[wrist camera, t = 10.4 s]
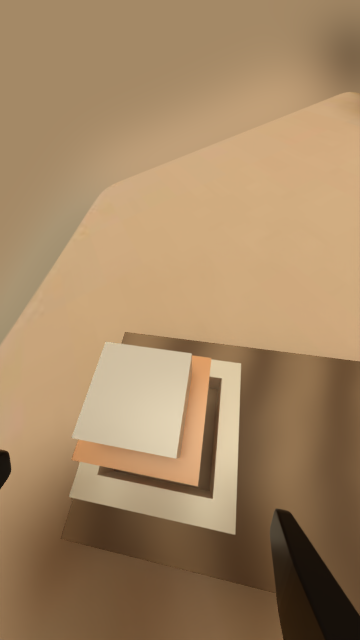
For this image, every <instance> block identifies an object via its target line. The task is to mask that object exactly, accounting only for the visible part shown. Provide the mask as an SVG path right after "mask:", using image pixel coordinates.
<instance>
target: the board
mask: <svg viewBox="0 0 360 640" xmlns="http://www.w3.org/2000/svg"><path fill="white" fill-rule="evenodd" d="M122 344H126V345H134V346H141V347H148V348H156V349H163V350H170V351H177V352H185V353H192V355H193V356H200V357H208V358H211V359H212V360H219V361H227V362H234V363H241V382H240V411H239V440H238V470H237V499H236V528H235V535H234V534H230V533H225V532H221V531H216V530H212V529H208V528H203V527H199V526H194V525H190V524H186V523H181V522H177V521H172V520H168V519H164V518H159V517H155V516H150V515H146V514H142V513H137V512H133V511H128V510H124V509H120V508H115V507H111V506H106V505H102V504H98V503H93V502H89V501H84V500H80V499H76V498H73V501H72V504H71V507H70V510H69V513H68V517H67V520H66V523H65V526H64V529H63V533H62V536H61V539H64V540H68V541H72V542H76V543H80V544H84V545H87V546H91V547H95V548H99V549H103V550H107V551H111V552H115V553H119V554H123V555H127V556H131V557H135V558H139V559H143V560H147V561H151V562H155V563H159V564H163V565H167V566H170V567H174V568H178V569H182V570H186V571H190V572H194V573H198V574H202V575H206V576H210V577H214V578H218V579H222V580H226V581H230V582H234V583H238V584H242V585H246V586H250V587H253V588H257V589H261V590H265V591H269V592H273V593H276V587H275V578H274V569H273V560H272V551H271V542H270V526H271V522H272V518H273V514H274V511H275V509H276V508H278V509H283V510H287V511H289V512H290V513H291V514H292V515H293V516H294V518H295V519H296V521H297V522H298V524H299V525H300V527H301V528H302V530H303V531H304V533H305V534H306V536H307V537H308V539H309V540H310V542H311V543H312V545H313V546H314V548H315V549H316V551H317V552H318V554H319V555H320V557H321V558H322V560H323V561H324V563H325V564H326V566H327V567H328V569H329V570H330V572H331V573H332V574H333V576H334V577H335V579H336V580H337V582H338V583H339V585H340V586H341V588H342V589H343V591H344V592H345V594H346V595H347V597H348V598H349V600H350V601H351V603H352V604H353V606H354V607H355V609H356V610H357V612H358V613H359V614H360V362H359V361H351V360H343V359H335V358H327V357H319V356H311V355H303V354H296V353H288V352H280V351H272V350H264V349H256V348H248V347H240V346H232V345H224V344H216V343H208V342H200V341H192V340H184V339H176V338H168V337H160V336H152V335H144V334H136V333H129V332H125V334H124V337H123V340H122ZM217 393H218V389H213V388H208V395H207V405H206V415H205V424H204V434H203V443H202V453H201V462H200V472H199V481H198V486H193V485H189V484H184V483H179V482H174V481H170V480H165V479H160V478H155V477H151V476H146V475H141V474H136V473H131V472H127V471H122V470H117V469H114V471H116V472H120V473H125V474H130V475H135V476H140V477H145V478H149V479H154V480H159V481H164V482H169V483H174V484H178V485H183V486H188V487H193V488H198V489H203V490H208V491H210V479H211V467H212V454H213V442H214V430H215V417H216V405H217Z"/></svg>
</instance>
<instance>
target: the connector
mask: <svg viewBox="0 0 360 640" xmlns="http://www.w3.org/2000/svg"><path fill="white" fill-rule="evenodd" d="M210 367H211V358H208V357H200V356H193V355H192V353H185V352H177V351H170V350H163V349H156V348H148V347H141V346H134V345H126V344H119V343H112V342H105V345H104V348H103V351H102V353H101V356H100V359H99V362H98V365H97V368H96V370H95V373H94V376H93V379H92V382H91V384H90V387H89V390H88V393H87V396H86V399H85V401H84V404H83V407H82V410H81V413H80V415H79V418H78V421H77V424H76V427H75V430H74V432H73V435H72V438H74V439H78V442H77V445H76V448H75V451H74V454H73V457H72V460H74V461H79V462H84V463H89V464H93V465H98V466H103V467H108V468H112V469H117V470H122V471H127V472H131V473H136V474H141V475H146V476H151V477H155V478H160V479H165V480H170V481H174V482H179V483H184V484H189V485H193V486H198V481H199V472H200V462H201V453H202V443H203V434H204V424H205V415H206V405H207V395H208V386H209V376H210Z"/></svg>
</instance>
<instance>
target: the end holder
mask: <svg viewBox="0 0 360 640" xmlns="http://www.w3.org/2000/svg"><path fill="white" fill-rule="evenodd" d="M240 382H241V363H234V362H227V361H219V360H212V359H211V367H210V376H209V386H208V388H213V389H218V393H217V405H216V417H215V430H214V442H213V454H212V467H211V479H210V491H208V490H203V489H198V488H193V487H188V486H183V485H178V484H174V483H169V482H164V481H159V480H154V479H149V478H145V477H140V476H135V475H130V474H125V473H120V472H116V471H114V469H112V468H108V467H103V466H98V465H93V464H89V463H84V462H80V463H79V466H78V470H77V473H76V476H75V479H74V482H73V485H72V488H71V491H70V494H69V497H71V498H76V499H80V500H84V501H89V502H93V503H98V504H102V505H106V506H111V507H115V508H120V509H124V510H128V511H133V512H137V513H142V514H146V515H150V516H155V517H159V518H164V519H168V520H172V521H177V522H181V523H186V524H190V525H194V526H199V527H203V528H208V529H212V530H216V531H221V532H225V533H230V534H234V535H235V528H236V499H237V470H238V440H239V411H240Z"/></svg>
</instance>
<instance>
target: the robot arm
mask: <svg viewBox="0 0 360 640" xmlns="http://www.w3.org/2000/svg"><path fill="white" fill-rule="evenodd" d="M10 473H11V463H10V456H9V453H8V452H7V451H4V450H0V489H1V487H2V486H3V484H4V483H5V482H6V480H7V479H8V477H9V475H10ZM270 542H271V551H272V560H273V569H274V578H275V587H276V596H277V604H278V612H279V618H280V623H281V629H282V634H283V639H284V640H360V615H359V613H358V612H357V610H356V609H355V607H354V606H353V604H352V603H351V601H350V600H349V598H348V597H347V595H346V594H345V592H344V591H343V589H342V588H341V586H340V585H339V583H338V582H337V580H336V579H335V577H334V576H333V574H332V573H331V572H330V570H329V569H328V567H327V566H326V564H325V563H324V561H323V560H322V558H321V557H320V555H319V554H318V552H317V551H316V549H315V548H314V546H313V545H312V543H311V542H310V540H309V539H308V537H307V536H306V534H305V533H304V531H303V530H302V528H301V527H300V525H299V524H298V522H297V521H296V519H295V518H294V516H293V515H292V514H291V513H290V512H289V511H287V510H283V509H278V508H276V509H275V511H274V514H273V518H272V522H271V526H270Z"/></svg>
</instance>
